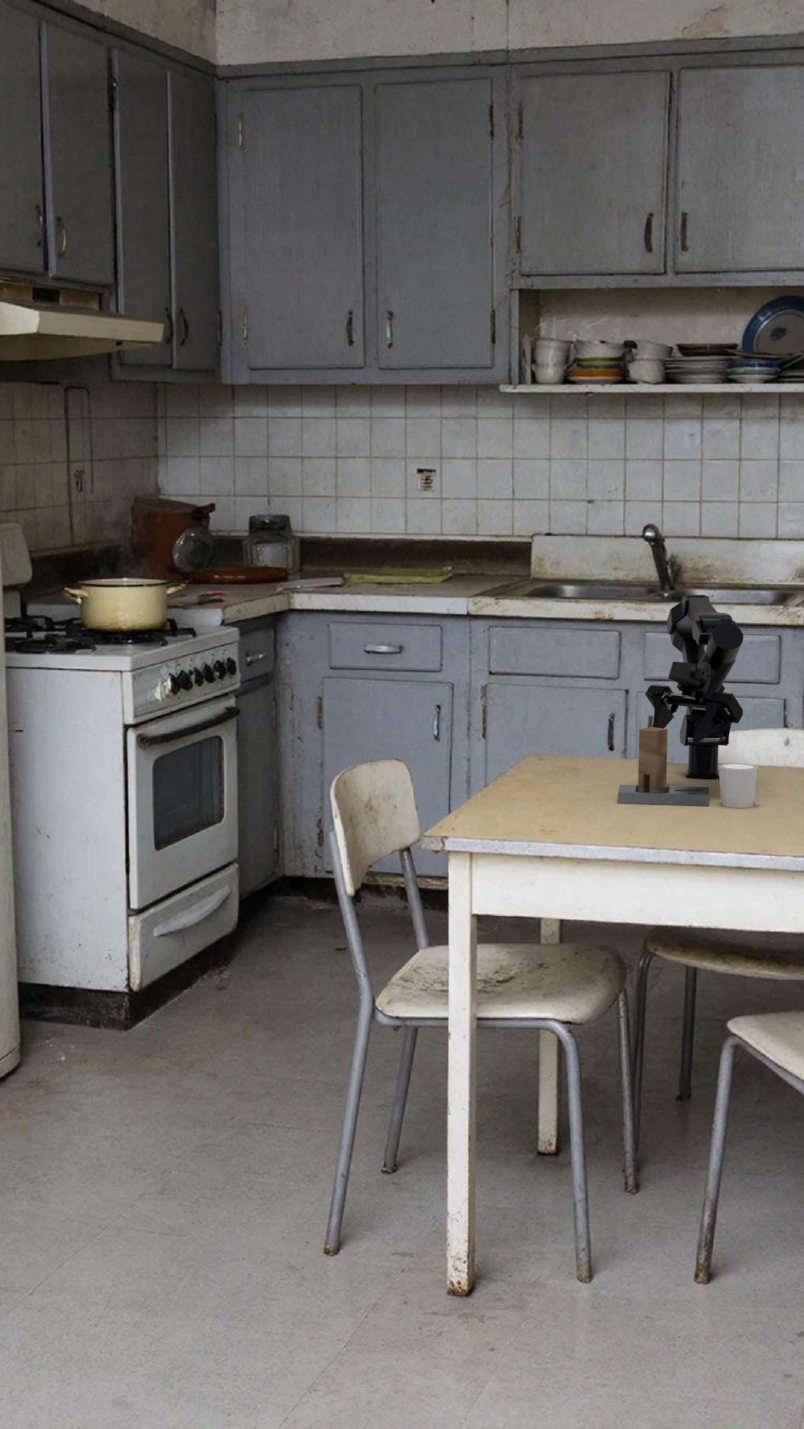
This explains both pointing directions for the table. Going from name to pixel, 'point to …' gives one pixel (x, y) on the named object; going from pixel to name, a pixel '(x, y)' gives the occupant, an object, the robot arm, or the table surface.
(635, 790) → the metal plate with hole
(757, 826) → the table surface
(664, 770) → the brown block
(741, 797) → the white cup
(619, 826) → the table surface
